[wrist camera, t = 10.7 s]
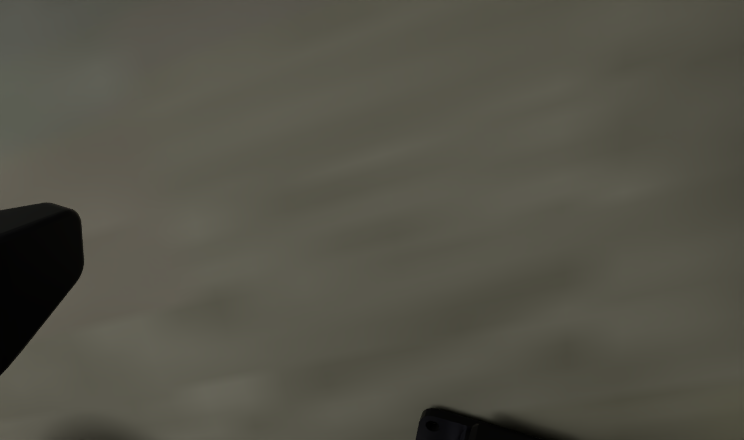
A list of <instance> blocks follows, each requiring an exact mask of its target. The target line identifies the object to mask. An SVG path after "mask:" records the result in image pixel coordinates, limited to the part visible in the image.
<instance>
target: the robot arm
mask: <svg viewBox="0 0 744 440" xmlns="http://www.w3.org/2000/svg"><path fill="white" fill-rule="evenodd" d="M83 266H84V254H83V240H82V226H81V219H80V217H79V215H78V213H77V212H76V211H74V210H73V209H69V208H66V207H63V206H60V205H56V204H53V203H40V204H34V205H28V206H23V207H17V208H11V209H5V210H0V375H1V374H2V373H3V372H4V371H5V370H6V369H7V368H8V367H9V366H10V364H11V363H12V362H13V361H14V360H15V358H16V357H17V356H18V355H19V354H20V353H21V351H22V350H23V349H24V348H25V346H26V345H27V344H28V343H29V341H30V340H31V339H32V338H33V336H34V335H35V334H36V332H37V331H38V330H39V329H40V327H41V326H42V325H43V324H44V322H45V321H46V320H47V319H48V317H49V316H50V315H51V314H52V312H53V311H54V310H55V309H56V307H57V306H58V305H59V304H60V302H61V301H62V300H63V299H64V297H65V296H66V295H67V293H68V292H69V291H70V290H71V288H72V287H73V286H74V285H75V283H76V282H77V281H78V279H79V277H80V275H81V273H82V270H83ZM430 421H434V422H436V423H437V424H433V423H432V422H430ZM416 440H543V439H539V438H536V437H532V436H529V435H525V434H522V433H518V432H515V431H512V430H508V429H505V428H501V427H498V426H494V425H491V424H487V423H484V422H481V421H477V420H474V419H470V418H467V417H463V416H460V415H456V414H453V413H450V412H446V411H443V410H439V409H435V408H429V409H426V410H424V411H423V413H422V415H421V418H420V421H419V426H418V431H417V436H416Z"/></svg>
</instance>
